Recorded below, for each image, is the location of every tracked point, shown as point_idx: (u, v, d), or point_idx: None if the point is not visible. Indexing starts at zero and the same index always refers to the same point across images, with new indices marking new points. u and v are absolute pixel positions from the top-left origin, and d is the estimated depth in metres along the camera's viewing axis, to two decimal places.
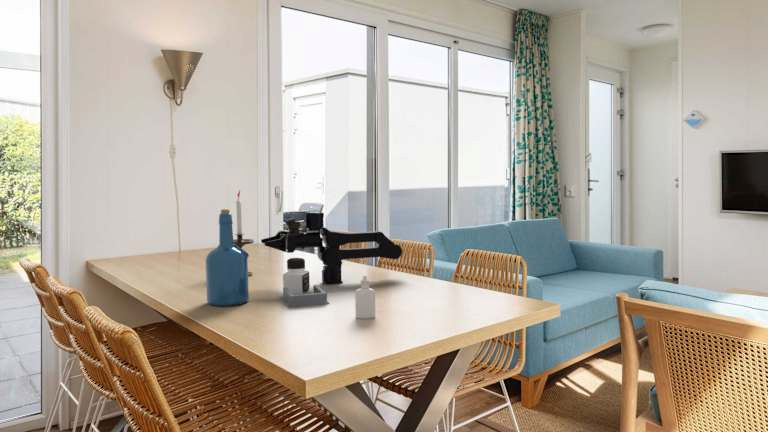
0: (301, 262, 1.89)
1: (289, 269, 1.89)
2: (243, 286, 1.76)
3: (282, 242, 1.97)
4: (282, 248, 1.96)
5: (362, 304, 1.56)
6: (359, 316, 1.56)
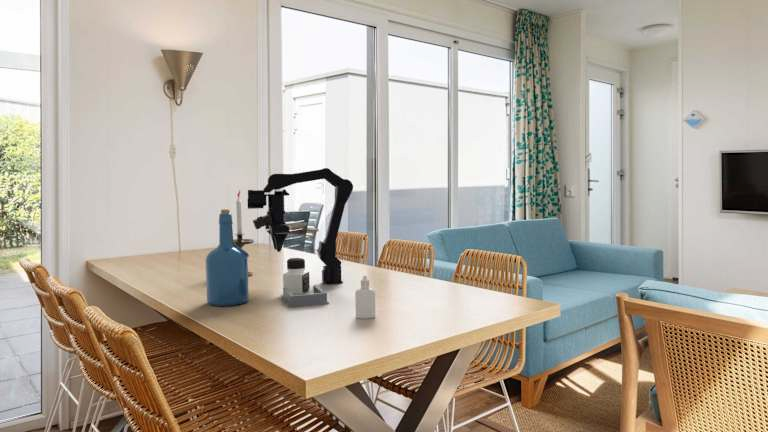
0: (301, 262, 1.89)
1: (289, 269, 1.89)
2: (243, 286, 1.76)
3: (278, 235, 1.99)
4: (284, 235, 1.99)
5: (362, 304, 1.56)
6: (359, 316, 1.56)
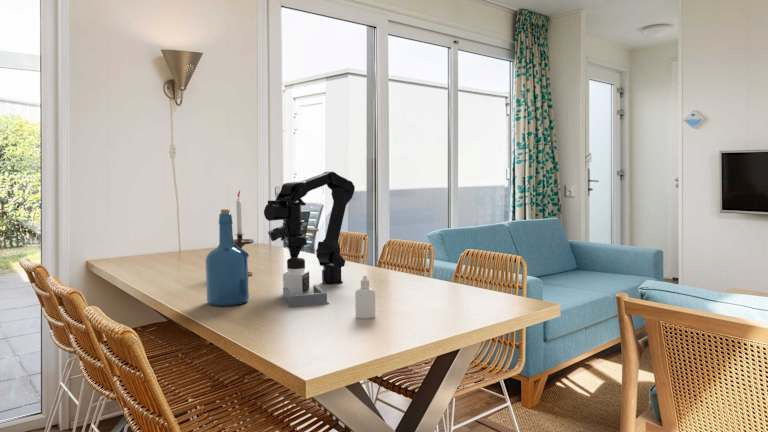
0: (301, 262, 1.89)
1: (289, 269, 1.89)
2: (243, 286, 1.76)
3: (293, 246, 1.93)
4: (299, 246, 1.93)
5: (362, 304, 1.56)
6: (359, 316, 1.56)
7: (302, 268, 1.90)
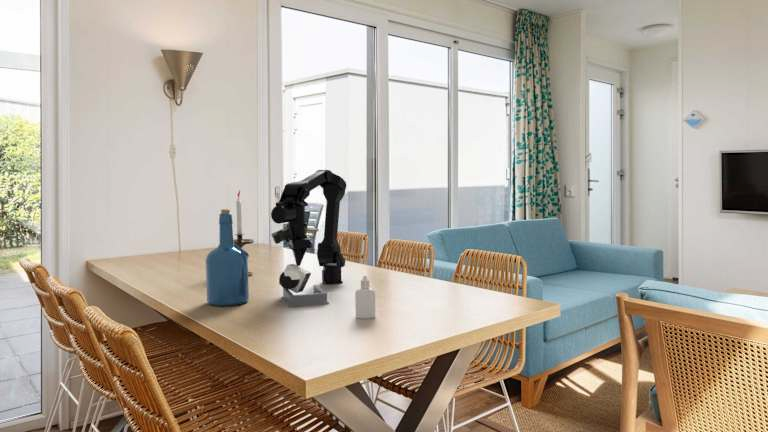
0: (293, 287, 1.78)
1: None
2: (243, 286, 1.76)
3: (297, 248, 1.88)
4: (303, 249, 1.88)
5: (362, 304, 1.56)
6: (359, 316, 1.56)
7: (296, 286, 1.80)
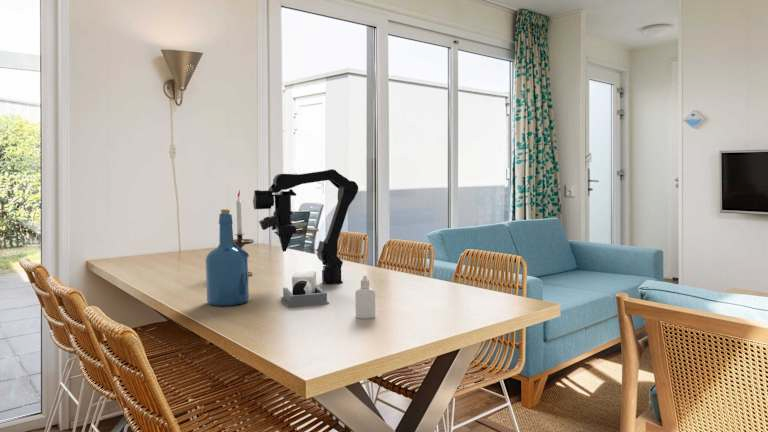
0: None
1: None
2: (243, 286, 1.76)
3: (283, 235, 2.00)
4: (289, 235, 2.00)
5: (362, 304, 1.56)
6: (359, 316, 1.56)
7: None
